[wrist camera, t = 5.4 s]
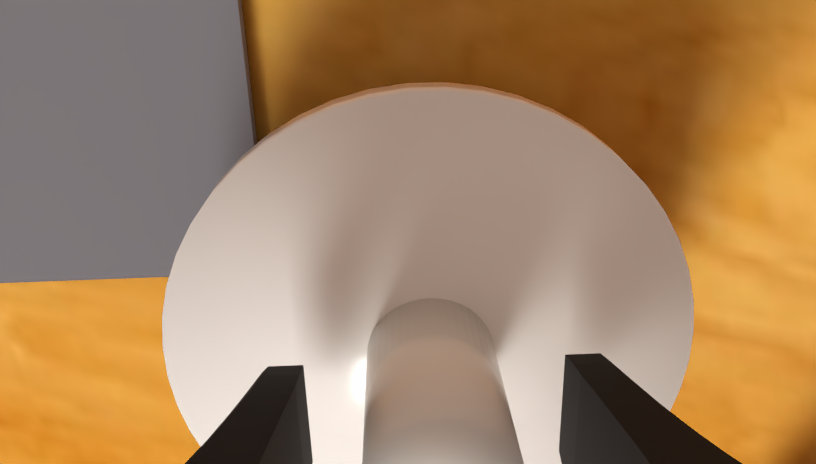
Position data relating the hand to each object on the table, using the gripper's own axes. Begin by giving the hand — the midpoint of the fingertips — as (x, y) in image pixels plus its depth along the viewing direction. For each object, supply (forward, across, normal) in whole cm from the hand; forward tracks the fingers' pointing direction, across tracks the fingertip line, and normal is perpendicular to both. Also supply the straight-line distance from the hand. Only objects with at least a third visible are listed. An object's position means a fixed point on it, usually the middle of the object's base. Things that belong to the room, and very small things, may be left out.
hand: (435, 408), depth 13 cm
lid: (+2, 0, 0) cm, 2 cm away
